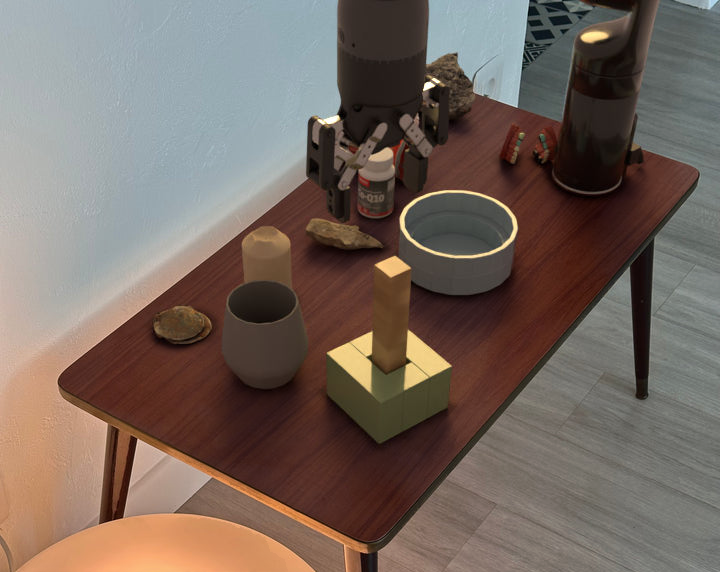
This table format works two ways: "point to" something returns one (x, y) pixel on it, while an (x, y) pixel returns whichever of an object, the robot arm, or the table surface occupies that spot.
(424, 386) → the stand
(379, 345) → the stick
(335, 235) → the artifact
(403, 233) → the bowl
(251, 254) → the candle
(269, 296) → the cup
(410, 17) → the robot arm
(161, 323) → the decorative disc
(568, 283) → the table surface
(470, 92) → the rock
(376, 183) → the pill bottle
